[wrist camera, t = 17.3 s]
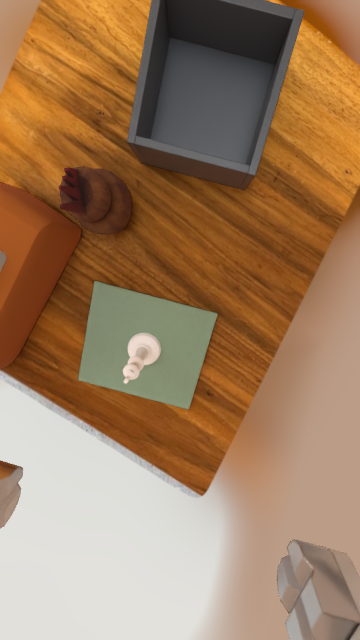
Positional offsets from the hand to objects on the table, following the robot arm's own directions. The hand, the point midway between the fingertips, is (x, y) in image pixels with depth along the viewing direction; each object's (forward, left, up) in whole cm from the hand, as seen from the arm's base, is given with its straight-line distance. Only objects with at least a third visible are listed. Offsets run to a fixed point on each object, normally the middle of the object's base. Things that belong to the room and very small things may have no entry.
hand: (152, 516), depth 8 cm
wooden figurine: (+13, -10, -31) cm, 35 cm away
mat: (+5, +8, -31) cm, 32 cm away
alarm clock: (+24, +3, -31) cm, 40 cm away
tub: (+4, -23, -31) cm, 39 cm away
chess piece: (+5, +8, -31) cm, 32 cm away
